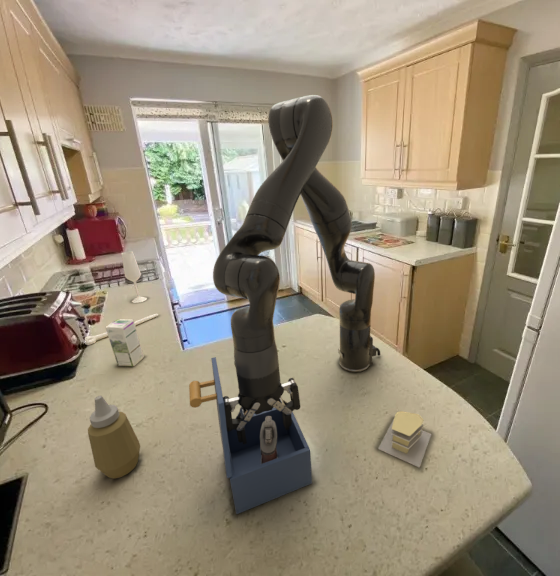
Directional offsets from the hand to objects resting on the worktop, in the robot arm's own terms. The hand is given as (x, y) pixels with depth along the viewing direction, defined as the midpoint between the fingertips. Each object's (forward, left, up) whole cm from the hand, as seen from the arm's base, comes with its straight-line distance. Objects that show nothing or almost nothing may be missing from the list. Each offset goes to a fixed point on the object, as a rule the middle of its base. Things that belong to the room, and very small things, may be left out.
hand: (265, 433), depth 61 cm
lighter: (0, 0, -8) cm, 8 cm away
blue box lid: (+7, 0, +8) cm, 11 cm away
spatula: (+39, -85, -9) cm, 94 cm away
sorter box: (+1, 0, -9) cm, 9 cm away
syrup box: (+33, -57, -9) cm, 66 cm away
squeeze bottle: (+29, -13, -9) cm, 33 cm away
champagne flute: (+37, -117, -9) cm, 123 cm away
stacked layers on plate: (-29, +6, -9) cm, 31 cm away
